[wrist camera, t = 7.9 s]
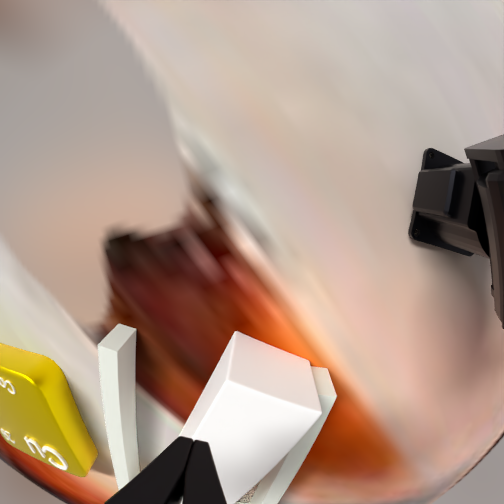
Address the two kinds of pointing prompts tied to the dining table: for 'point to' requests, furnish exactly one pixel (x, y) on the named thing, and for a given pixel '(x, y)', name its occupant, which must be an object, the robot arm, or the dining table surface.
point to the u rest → (125, 430)
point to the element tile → (42, 412)
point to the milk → (253, 411)
